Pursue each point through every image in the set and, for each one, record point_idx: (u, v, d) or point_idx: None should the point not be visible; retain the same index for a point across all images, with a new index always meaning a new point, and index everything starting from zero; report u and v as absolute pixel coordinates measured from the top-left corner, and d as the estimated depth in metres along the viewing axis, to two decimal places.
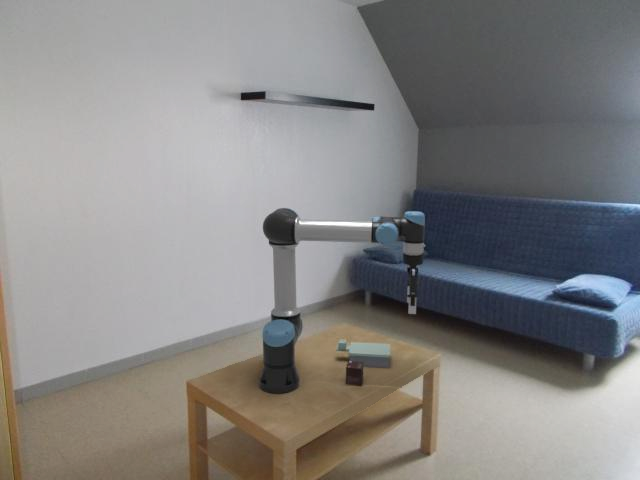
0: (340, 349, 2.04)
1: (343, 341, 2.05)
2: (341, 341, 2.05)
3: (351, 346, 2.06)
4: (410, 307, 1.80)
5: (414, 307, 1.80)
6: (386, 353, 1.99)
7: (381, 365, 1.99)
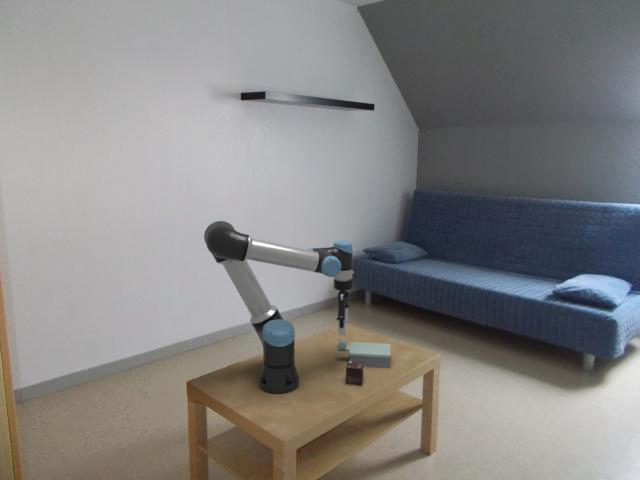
0: (340, 349, 2.04)
1: (343, 341, 2.05)
2: (341, 341, 2.05)
3: (351, 346, 2.06)
4: (340, 329, 1.97)
5: (343, 329, 1.97)
6: (386, 353, 1.99)
7: (381, 365, 1.99)
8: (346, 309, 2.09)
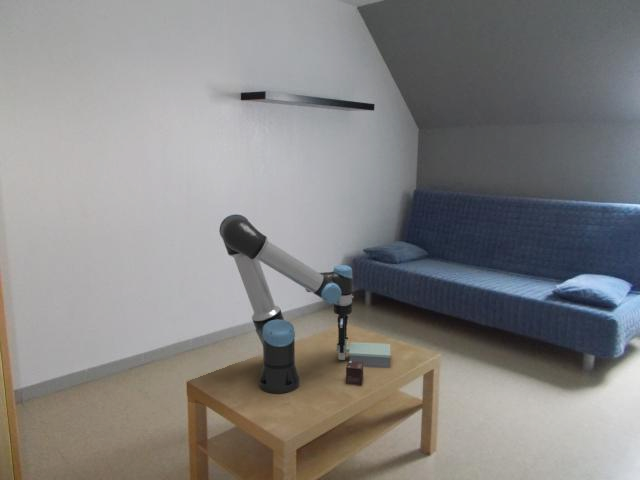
0: None
1: None
2: None
3: (351, 346, 2.06)
4: (340, 354, 2.03)
5: (343, 354, 2.03)
6: (386, 353, 1.99)
7: (381, 365, 1.99)
8: None
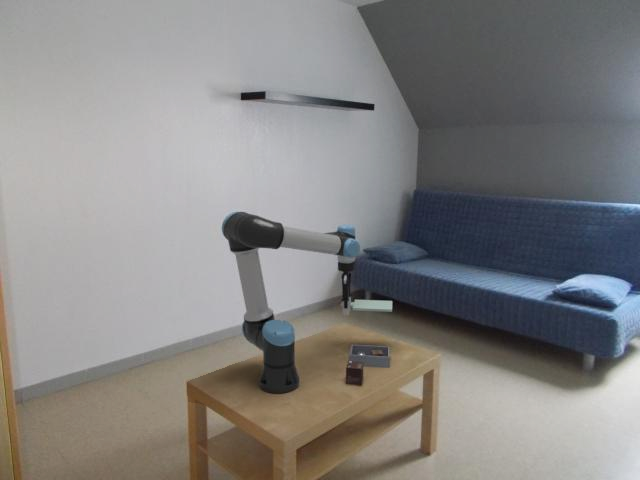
0: None
1: None
2: None
3: (355, 303, 2.16)
4: (344, 309, 2.14)
5: (347, 309, 2.13)
6: (388, 308, 2.09)
7: (381, 365, 1.99)
8: None
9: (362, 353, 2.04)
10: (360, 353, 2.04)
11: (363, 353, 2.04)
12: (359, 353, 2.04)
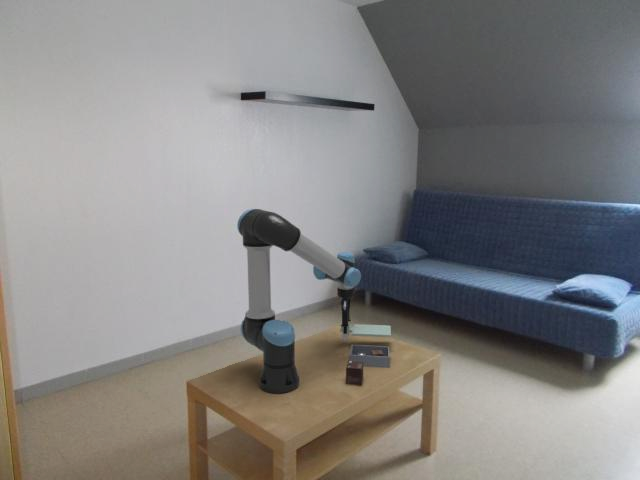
0: None
1: None
2: None
3: (354, 327, 2.20)
4: (343, 334, 2.18)
5: (347, 334, 2.17)
6: (387, 333, 2.13)
7: (381, 365, 1.99)
8: None
9: (362, 353, 2.04)
10: (360, 353, 2.04)
11: (363, 353, 2.04)
12: (359, 353, 2.04)
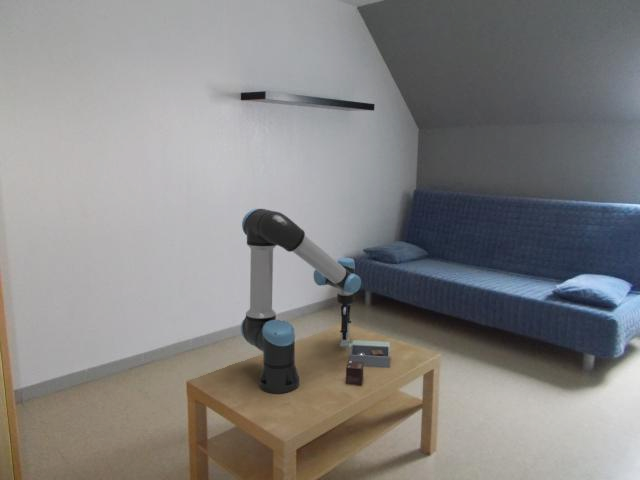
0: (343, 346, 2.19)
1: None
2: None
3: (353, 344, 2.22)
4: (342, 340, 2.15)
5: (346, 340, 2.15)
6: None
7: (381, 365, 1.99)
8: (348, 324, 2.24)
9: (362, 353, 2.04)
10: (360, 353, 2.04)
11: (363, 353, 2.04)
12: (359, 353, 2.04)
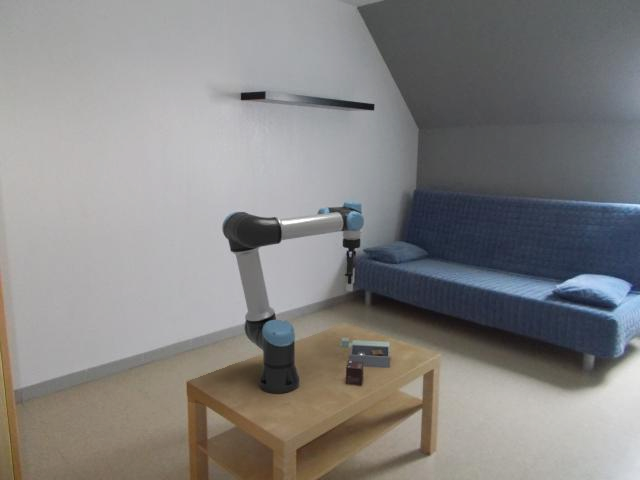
0: (343, 346, 2.19)
1: (346, 339, 2.20)
2: (344, 339, 2.20)
3: (353, 344, 2.22)
4: (347, 285, 2.05)
5: (351, 285, 2.05)
6: None
7: (381, 365, 1.99)
8: (353, 269, 2.18)
9: (362, 353, 2.04)
10: (360, 353, 2.04)
11: (363, 353, 2.03)
12: (359, 353, 2.04)
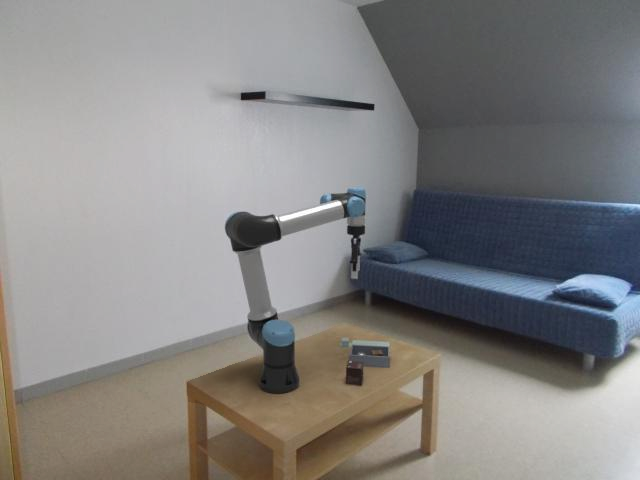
0: (343, 346, 2.19)
1: (346, 339, 2.20)
2: (343, 339, 2.20)
3: (353, 344, 2.22)
4: (352, 272, 2.02)
5: (356, 272, 2.02)
6: None
7: (381, 365, 1.99)
8: (358, 257, 2.14)
9: (362, 353, 2.04)
10: (360, 353, 2.04)
11: (363, 353, 2.04)
12: (359, 353, 2.04)
